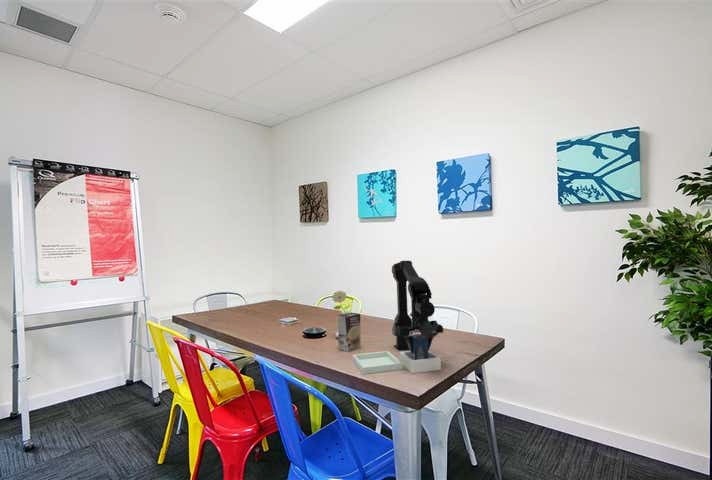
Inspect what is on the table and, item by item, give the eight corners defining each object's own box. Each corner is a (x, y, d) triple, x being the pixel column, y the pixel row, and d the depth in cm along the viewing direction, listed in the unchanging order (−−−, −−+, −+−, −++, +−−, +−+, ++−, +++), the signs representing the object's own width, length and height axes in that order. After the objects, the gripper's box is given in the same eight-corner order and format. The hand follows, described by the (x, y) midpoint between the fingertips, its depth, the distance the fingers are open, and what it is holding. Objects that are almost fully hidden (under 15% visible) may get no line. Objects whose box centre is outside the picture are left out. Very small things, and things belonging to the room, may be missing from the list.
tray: (352, 360, 144) (352, 354, 144) (388, 356, 149) (387, 351, 149) (363, 374, 129) (363, 367, 129) (402, 369, 133) (402, 363, 133)
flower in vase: (358, 334, 186) (357, 289, 186) (355, 340, 174) (354, 291, 175) (334, 334, 187) (333, 289, 187) (330, 340, 175) (329, 292, 176)
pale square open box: (400, 362, 140) (400, 351, 140) (426, 359, 144) (426, 349, 144) (412, 373, 129) (412, 361, 129) (440, 369, 132) (440, 358, 132)
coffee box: (347, 352, 156) (346, 317, 156) (338, 349, 161) (337, 315, 161) (361, 347, 163) (360, 313, 163) (352, 344, 167) (351, 312, 167)
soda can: (421, 362, 141) (420, 333, 141) (432, 367, 135) (431, 336, 135) (407, 365, 138) (407, 335, 138) (418, 370, 131) (417, 339, 132)
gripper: (405, 317, 126) (406, 360, 126) (450, 314, 131) (451, 354, 131) (394, 312, 137) (395, 351, 137) (436, 309, 142) (437, 346, 142)
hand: (419, 351), depth 136 cm, fingers closed on soda can, 7 cm apart
